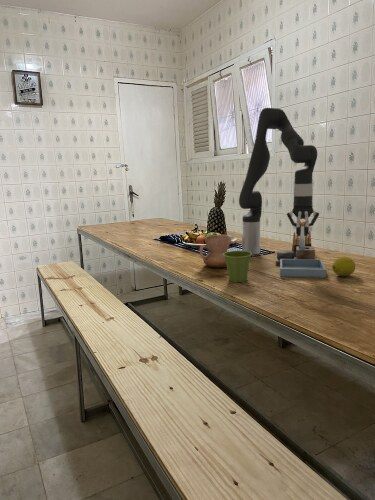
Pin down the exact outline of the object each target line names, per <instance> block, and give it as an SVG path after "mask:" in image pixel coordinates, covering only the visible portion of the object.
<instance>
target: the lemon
mask: <svg viewBox="0 0 375 500" xmlns="http://www.w3.org/2000/svg"><path fill="white" fill-rule="evenodd" d="M331 268H332V271H333V273H334V274H335V275H337V276H340V277H349V276H350V275H352V274H353V273H354V272H355V271H356V262H355V261H354V260H353V259H352V258H350V257H347V256H341V257H338V258H336V259H335V260H334V262H333V263H332V266H331Z"/></svg>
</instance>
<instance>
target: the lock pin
mask: <svg viewBox="0 0 375 500" xmlns="http://www.w3.org/2000/svg"><path fill="white" fill-rule="evenodd" d="M299 227H300V236H299V250H305V227H306V222H305V220H300V225H299Z"/></svg>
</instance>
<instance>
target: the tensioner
mask: <svg viewBox="0 0 375 500" xmlns="http://www.w3.org/2000/svg"><path fill="white" fill-rule="evenodd" d="M280 259H316V249H315V247H314V246H311V247H305V250H299V247H296V254H294V252H293V251H292V250H278V251H276V255H275V266H280Z"/></svg>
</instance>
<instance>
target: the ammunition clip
mask: <svg viewBox="0 0 375 500" xmlns="http://www.w3.org/2000/svg"><path fill="white" fill-rule="evenodd" d="M292 236H293V238H292V245H291V251H293V252H294V254H296V247H299V236H298V235H297V234H296V231H294V232H293V235H292ZM305 247H312V233H311V230H310V229H309V234H308V235H307V236H305Z"/></svg>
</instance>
